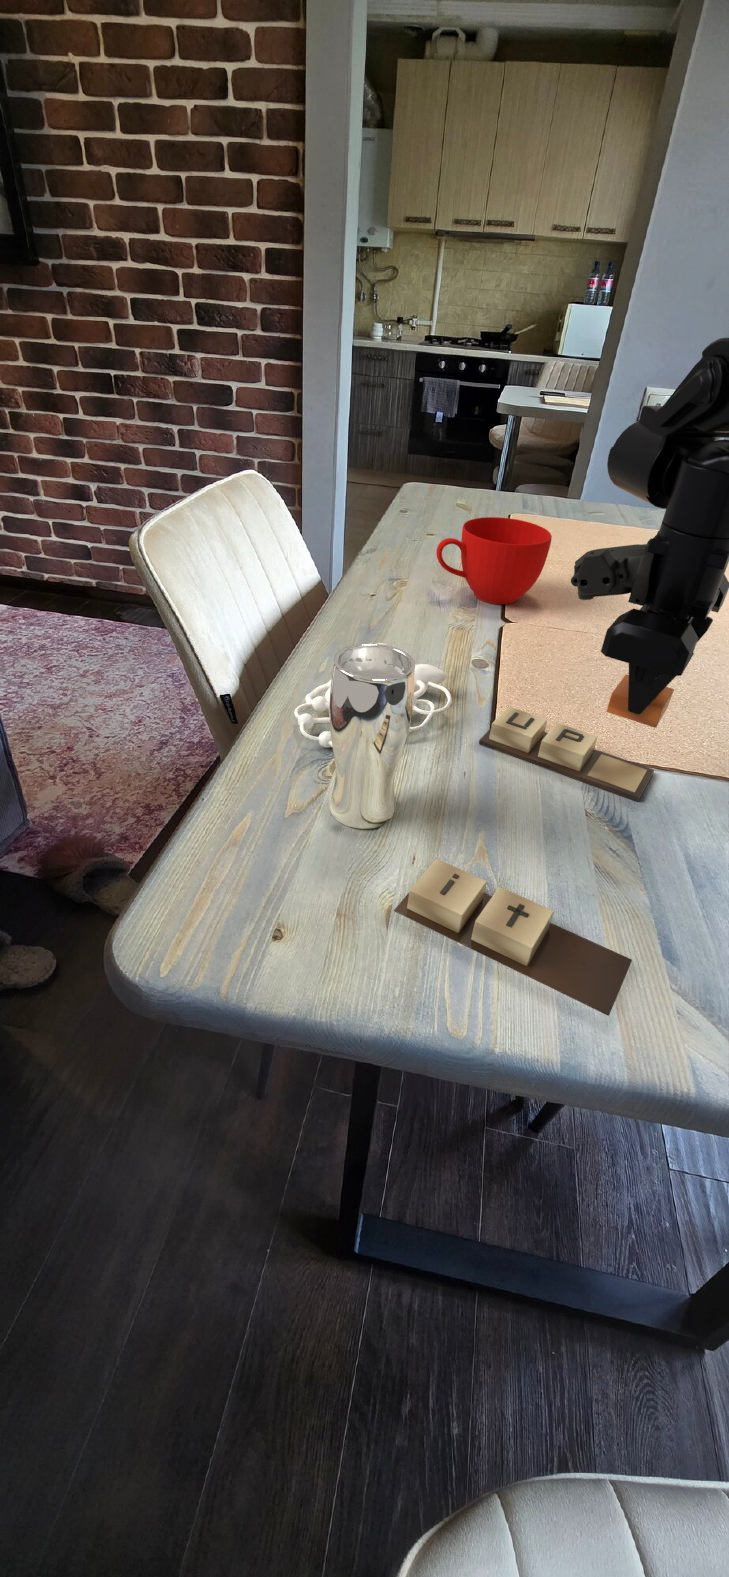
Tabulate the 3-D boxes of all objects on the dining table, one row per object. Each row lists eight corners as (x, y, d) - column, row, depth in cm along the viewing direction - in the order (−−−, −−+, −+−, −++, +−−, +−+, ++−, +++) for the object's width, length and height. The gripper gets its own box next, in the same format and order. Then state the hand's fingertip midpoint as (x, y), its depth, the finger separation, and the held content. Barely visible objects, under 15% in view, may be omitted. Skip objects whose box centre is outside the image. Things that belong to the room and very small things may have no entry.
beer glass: (402, 790, 70) (419, 646, 62) (397, 837, 65) (416, 686, 56) (330, 782, 71) (337, 638, 62) (319, 828, 65) (325, 676, 56)
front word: (630, 963, 55) (640, 939, 53) (606, 1019, 51) (616, 995, 49) (428, 872, 61) (432, 848, 60) (392, 914, 57) (395, 890, 56)
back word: (653, 773, 76) (660, 752, 74) (637, 802, 72) (645, 780, 70) (501, 720, 82) (505, 700, 81) (478, 743, 78) (482, 722, 77)
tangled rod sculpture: (370, 785, 73) (375, 752, 70) (261, 723, 78) (262, 691, 76) (467, 707, 85) (475, 677, 83) (367, 659, 91) (371, 629, 88)
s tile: (667, 707, 68) (674, 687, 67) (655, 728, 65) (663, 707, 63) (619, 692, 70) (625, 672, 68) (605, 712, 66) (612, 691, 65)
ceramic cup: (418, 582, 115) (425, 517, 110) (517, 579, 119) (529, 516, 114) (445, 616, 105) (455, 546, 100) (552, 611, 109) (568, 544, 104)
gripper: (629, 483, 67) (586, 641, 76) (561, 531, 54) (519, 715, 63) (759, 510, 63) (696, 673, 72) (719, 569, 49) (649, 760, 59)
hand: (641, 701), depth 67 cm, fingers closed on s tile, 4 cm apart
